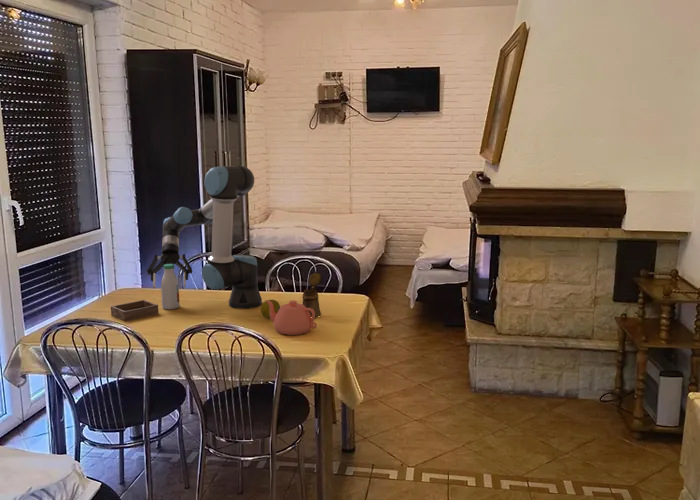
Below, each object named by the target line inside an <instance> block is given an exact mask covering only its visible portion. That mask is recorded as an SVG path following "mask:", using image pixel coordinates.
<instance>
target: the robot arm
mask: <svg viewBox="0 0 700 500" xmlns="http://www.w3.org/2000/svg"><path fill="white" fill-rule="evenodd" d="M203 185H204V188H205V191H206V193H207V194H209V198H210V199H209V200H207V202H206V203H205V204H204V205H202V206H201V207H199V208H198V209H197V208H195V209H190V208H188V207H185V206H181V207H178V208H177V210H176V211H175V212H174V213H173V215H171V216H169V217H166V218H164V219H163V223H162V243H161V244H162V245H161V249H162V250H161V255H158V254H155V255H154V256H153V257H154V258H153V260H152V262H151V263H150V265H149V266H148V268H147V269H146V273H147V275H149V276H150V281H151V282H152V287H153V289H156V281H157V279H156V278H157V276H156V274H157V273H158V272H159V271H160V270H161V269H162V268H164V265H165V264H174V265H175V266H176V267H178V269H180V270H181V272H183V283H182V285H183V288H186V284H187V283H186V282H187V281H188V280H189V274H193V269H192V267H191V265H190V263H189V261H188V260H187V258H186V253H183V254H182V255H180V253H179V251H180V245H179V244H180V233H181V232H182V231H183V230H184V228H186V227H193V226H201V225H209V224H212V229H211V232H212V233H211V237H212V238H211V254H210V255H208V257H207V263H205V264H204V265H203V266H202V268H201V277H202V280H203V282H204V284H205V285H206V287H208V288H209V289H211V290H222V289H224V288H229V287H231V288H232V289H231V293H230V296H229V299H228V306H229V307H230V308H232V309H240V310H241V309H244V310H245V309H255V308H257V307H261V306H262V305H261V304H263V301H262V296H261V293H260V290H259V288H258V287H259V286H258V284H259V283H258V281H259V280H258V260H257V258H256V257H255V256H254V255H253V256H252V255H248V254H247V255H243V254H233V255H232V251H233V249H232V247H233V223H234V222H233V221H234V220H233V219H234V204H235V203H234V202H235V201H237V200H238V198H239V197H244V196H246V195H247V194H248V193H249V192H250V191H251V190H252V189H253V187H254V185H255V175H254V174H253V172H252V170H251V169H250V168H249V167H246V166H244V165H226V166H225V165H224V166H219V165H218V166H215V167H211V168H209V170H208V171H207V173H205V177H204V184H203ZM180 260H182V261H183V263H184V265H185V266H184V265H183V263H181V262H180ZM159 261H160V262H159ZM158 262H159V263H158Z"/></svg>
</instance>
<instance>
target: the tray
mask: <svg viewBox="0 0 700 500" xmlns="http://www.w3.org/2000/svg"><path fill="white" fill-rule="evenodd" d="M110 314H111V316H112V317H114V318H116V319H119V320H122V321H123V322H127V321H131V320H138V319H140V318H145V317H146V316H147V317H150V315H151V316H155V315H154V314H156V315H158V314H159V305H158V304H157V303H153V302H151V301H148V300H147V299H146V300H145V299H141V300H136V301H131V302H127V303H121V304H120V303H119V304H116V305H111V306H110ZM159 315H160V314H159Z"/></svg>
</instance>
